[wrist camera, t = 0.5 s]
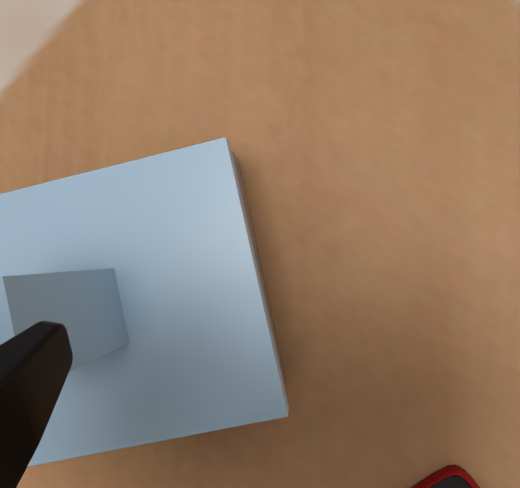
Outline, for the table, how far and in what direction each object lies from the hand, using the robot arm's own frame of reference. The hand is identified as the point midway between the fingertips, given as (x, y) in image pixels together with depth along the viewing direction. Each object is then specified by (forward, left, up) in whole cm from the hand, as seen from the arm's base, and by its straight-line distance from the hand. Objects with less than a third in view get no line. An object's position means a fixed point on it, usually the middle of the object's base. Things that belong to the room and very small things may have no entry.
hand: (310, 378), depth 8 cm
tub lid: (+2, +9, -11) cm, 14 cm away
